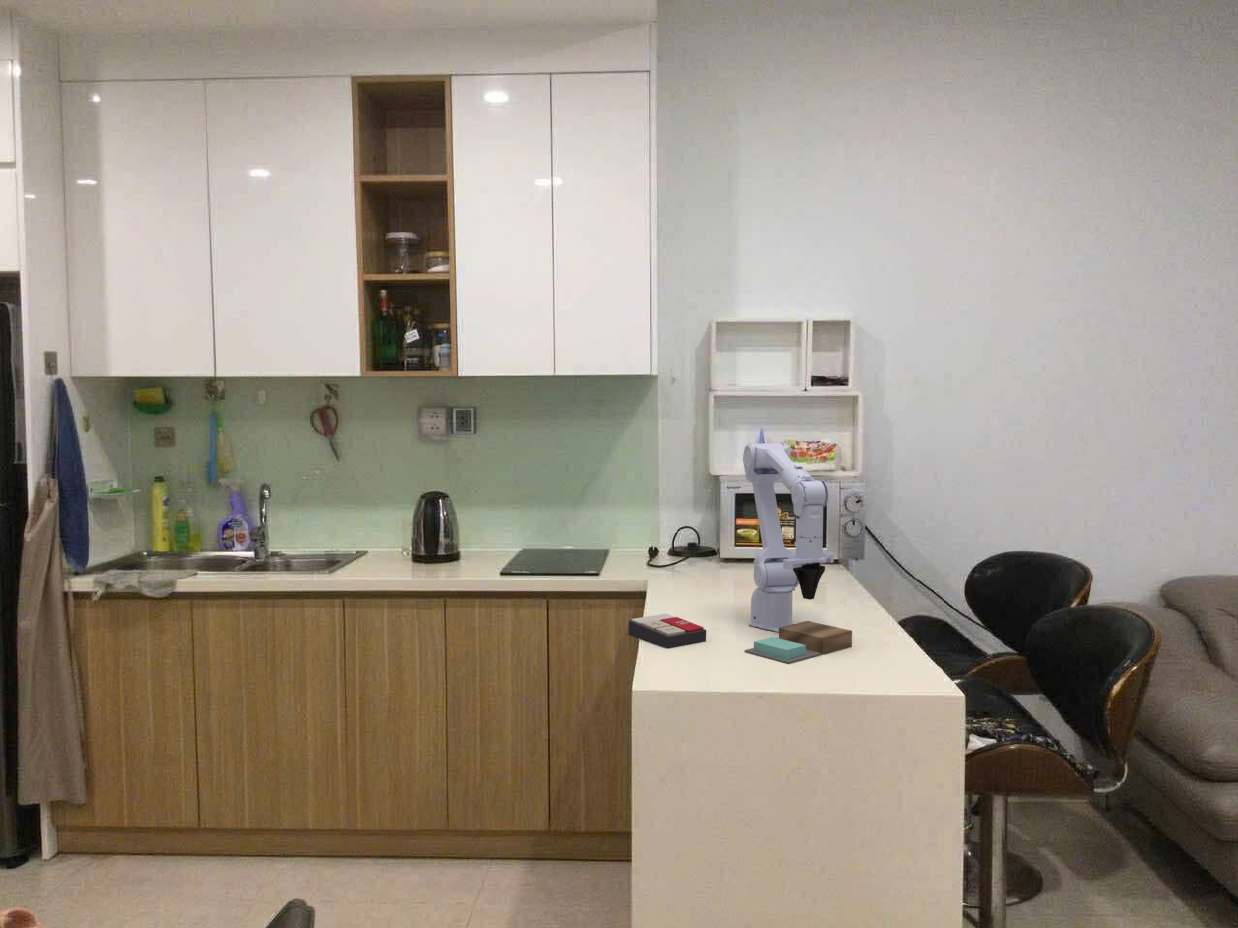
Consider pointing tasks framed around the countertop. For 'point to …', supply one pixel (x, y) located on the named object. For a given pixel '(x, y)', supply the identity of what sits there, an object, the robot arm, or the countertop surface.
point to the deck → (817, 636)
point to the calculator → (666, 631)
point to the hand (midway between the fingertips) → (808, 598)
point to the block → (779, 648)
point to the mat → (808, 655)
